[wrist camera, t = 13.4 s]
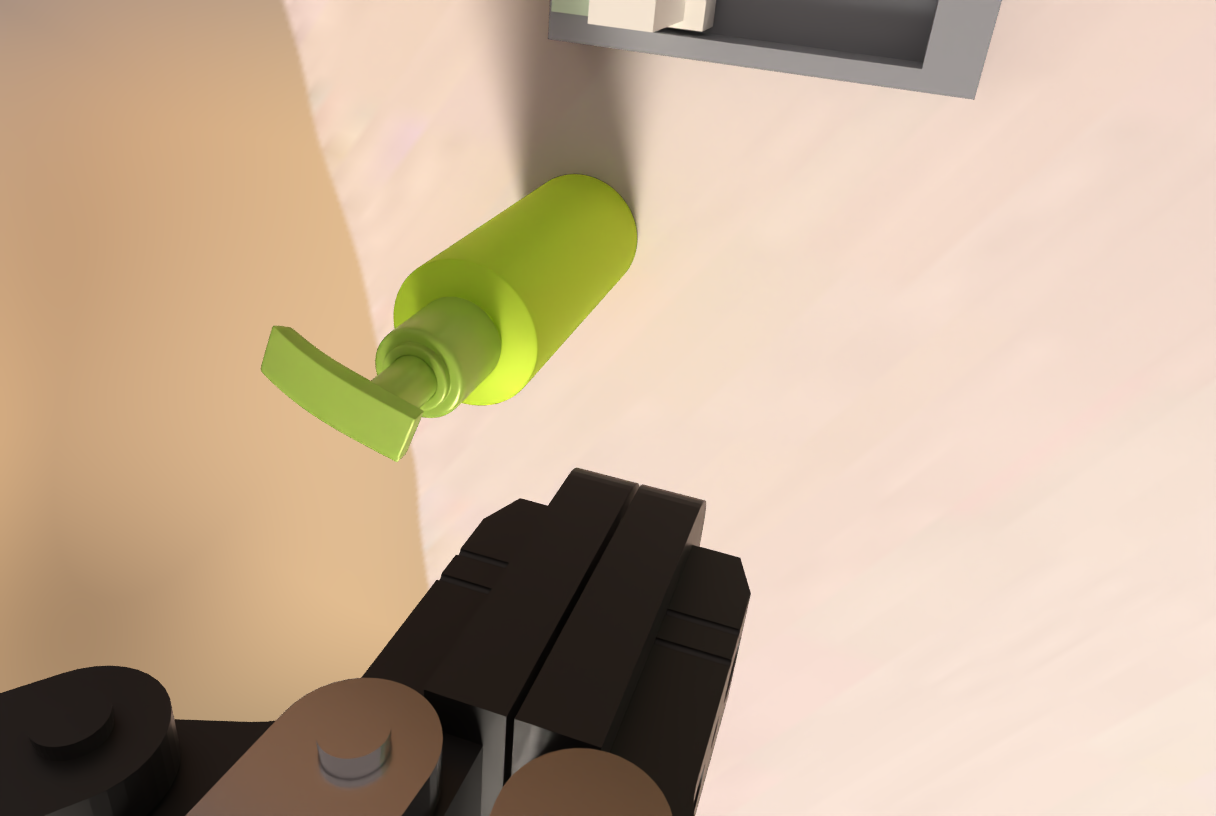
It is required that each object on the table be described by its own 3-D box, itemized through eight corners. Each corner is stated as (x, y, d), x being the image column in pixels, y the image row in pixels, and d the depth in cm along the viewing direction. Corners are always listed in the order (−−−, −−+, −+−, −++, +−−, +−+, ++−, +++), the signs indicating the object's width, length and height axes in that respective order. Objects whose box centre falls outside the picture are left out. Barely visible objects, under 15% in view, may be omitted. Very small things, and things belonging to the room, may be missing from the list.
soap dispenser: (533, 139, 43) (277, 277, 26) (658, 214, 43) (479, 400, 26) (490, 241, 46) (237, 422, 30) (606, 311, 46) (416, 534, 29)
